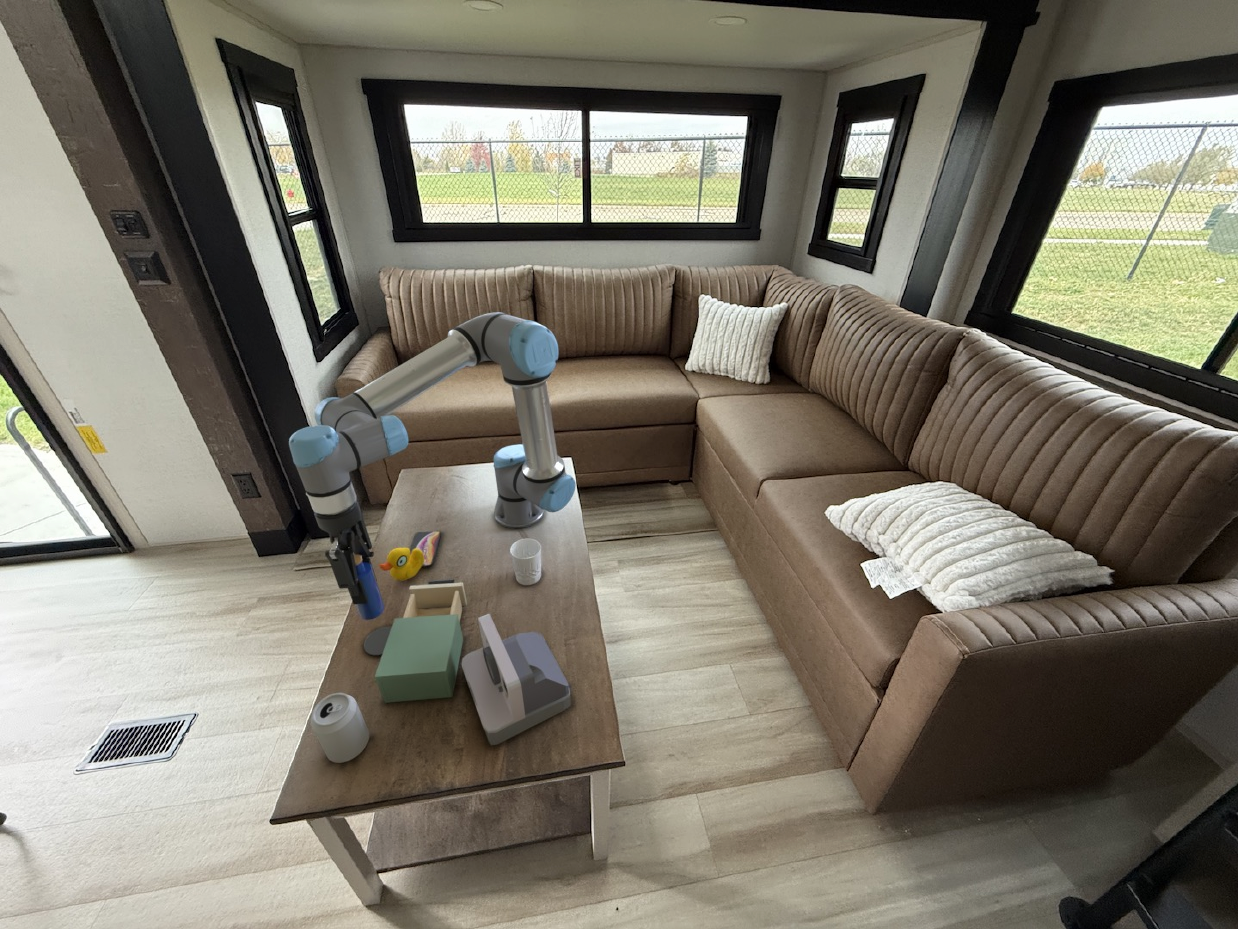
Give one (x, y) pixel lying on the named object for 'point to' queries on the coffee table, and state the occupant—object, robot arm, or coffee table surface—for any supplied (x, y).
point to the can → (339, 727)
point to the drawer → (436, 599)
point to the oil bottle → (368, 591)
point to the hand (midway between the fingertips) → (365, 592)
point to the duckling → (403, 563)
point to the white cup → (526, 561)
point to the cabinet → (420, 658)
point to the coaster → (377, 641)
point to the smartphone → (426, 545)
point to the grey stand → (514, 682)
